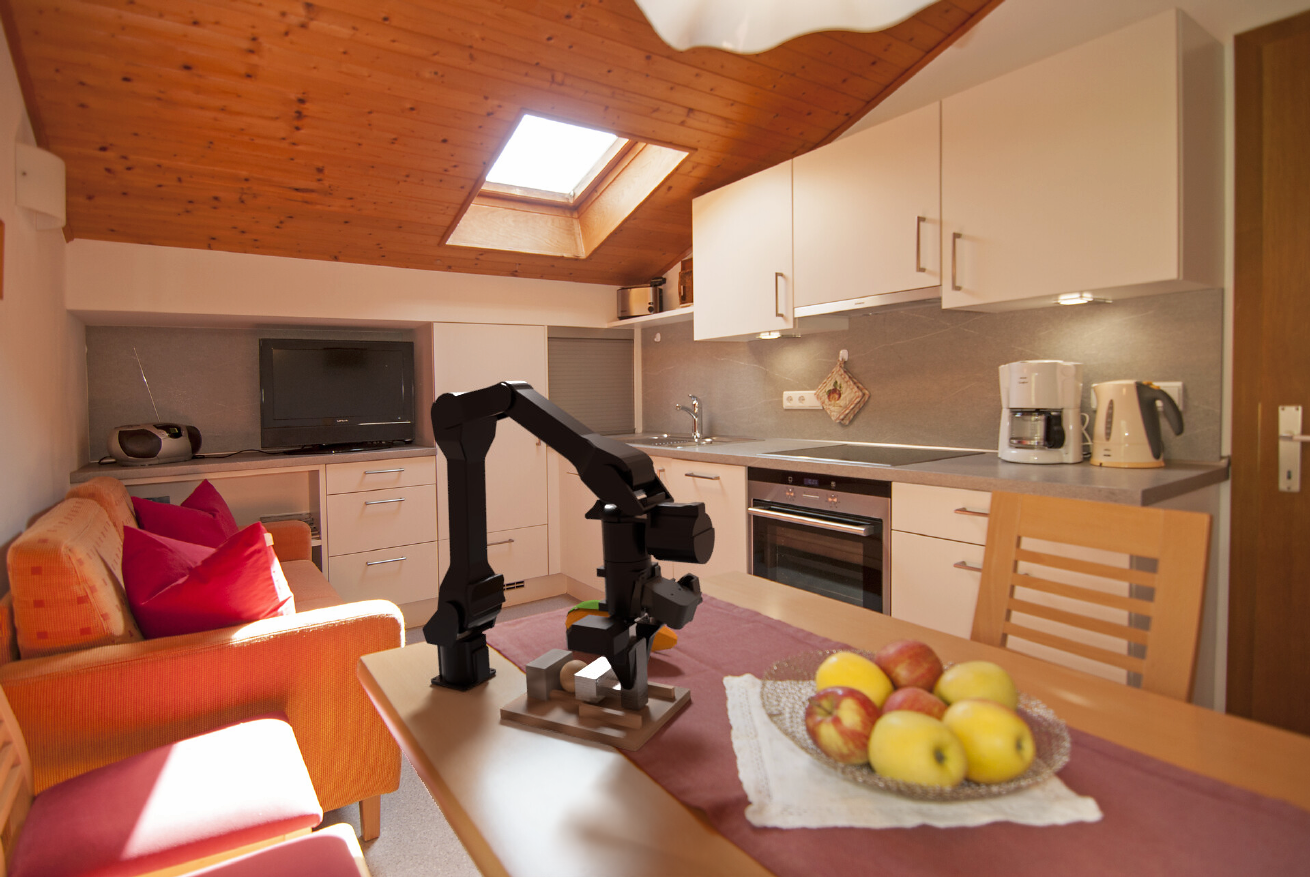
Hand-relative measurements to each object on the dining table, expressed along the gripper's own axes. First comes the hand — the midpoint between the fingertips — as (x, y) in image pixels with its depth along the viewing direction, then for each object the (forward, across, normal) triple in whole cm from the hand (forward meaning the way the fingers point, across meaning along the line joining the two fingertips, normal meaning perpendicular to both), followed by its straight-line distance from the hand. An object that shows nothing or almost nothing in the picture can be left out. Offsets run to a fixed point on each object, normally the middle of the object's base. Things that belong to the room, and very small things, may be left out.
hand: (633, 684), depth 84 cm
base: (+4, 0, +5) cm, 7 cm away
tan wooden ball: (0, 0, +8) cm, 8 cm away
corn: (+4, +17, +12) cm, 22 cm away
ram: (+2, 0, +3) cm, 4 cm away
